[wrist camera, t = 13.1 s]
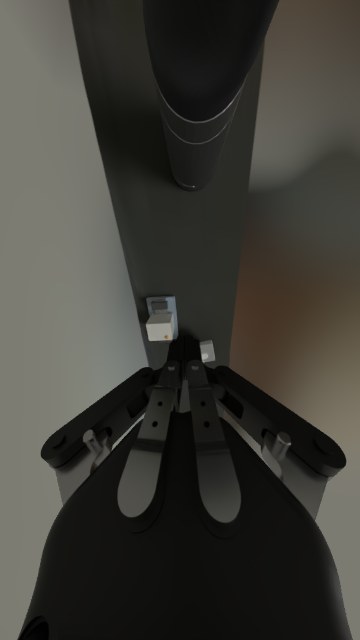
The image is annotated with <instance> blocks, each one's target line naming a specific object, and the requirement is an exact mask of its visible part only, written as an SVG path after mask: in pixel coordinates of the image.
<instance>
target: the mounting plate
mask: <svg viewBox="0 0 360 640" xmlns="http://www.w3.org/2000/svg"><path fill="white" fill-rule="evenodd" d="M163 298H166V299H167V301H168V314H171V312H173V318H174V333H173V339H177V336H179V335H178V324H177V314H176V304H175V296H160V297H147V299H146V300H147V305H148V310H149V315H150V316H151V314H152V313H154V314H156V313H155V310H152V308H151V302H152V301H153V300H154V299H163Z"/></svg>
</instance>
